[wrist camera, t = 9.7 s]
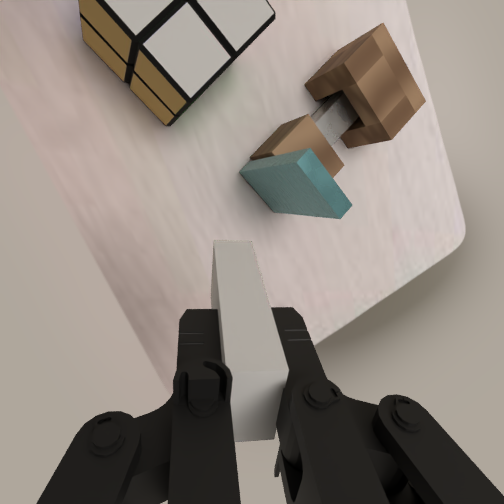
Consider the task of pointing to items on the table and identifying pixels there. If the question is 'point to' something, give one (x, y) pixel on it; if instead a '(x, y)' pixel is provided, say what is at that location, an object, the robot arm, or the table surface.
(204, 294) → the table surface
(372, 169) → the table surface
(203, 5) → the puzzle cube
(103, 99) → the table surface
